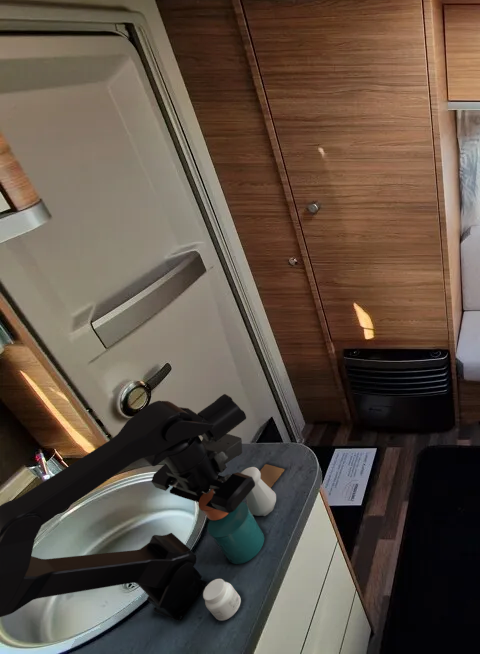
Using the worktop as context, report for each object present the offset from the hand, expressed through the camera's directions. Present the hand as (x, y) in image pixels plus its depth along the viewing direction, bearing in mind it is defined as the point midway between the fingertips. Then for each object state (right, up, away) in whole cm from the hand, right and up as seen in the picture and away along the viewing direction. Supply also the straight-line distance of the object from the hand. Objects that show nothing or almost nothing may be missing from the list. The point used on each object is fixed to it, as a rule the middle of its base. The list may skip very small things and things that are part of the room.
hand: (219, 506), depth 83 cm
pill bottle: (+4, -18, -3) cm, 18 cm away
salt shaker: (+2, -8, +13) cm, 15 cm away
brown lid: (0, -1, 0) cm, 1 cm away
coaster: (-1, -3, +19) cm, 19 cm away
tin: (+2, -12, +6) cm, 13 cm away
